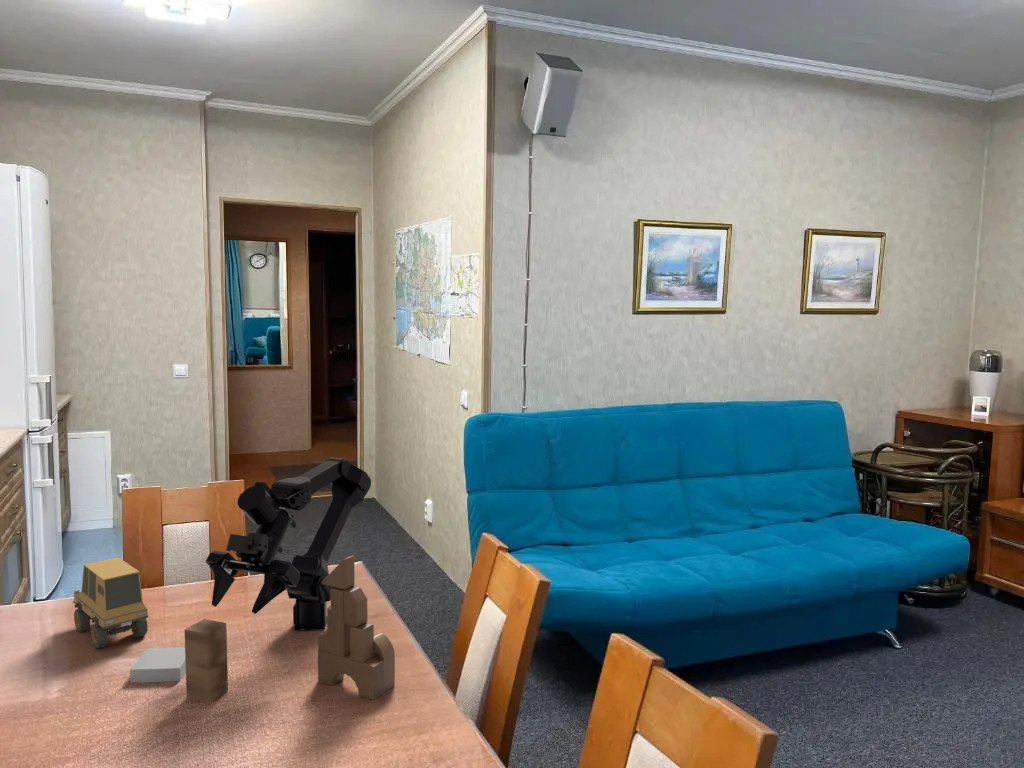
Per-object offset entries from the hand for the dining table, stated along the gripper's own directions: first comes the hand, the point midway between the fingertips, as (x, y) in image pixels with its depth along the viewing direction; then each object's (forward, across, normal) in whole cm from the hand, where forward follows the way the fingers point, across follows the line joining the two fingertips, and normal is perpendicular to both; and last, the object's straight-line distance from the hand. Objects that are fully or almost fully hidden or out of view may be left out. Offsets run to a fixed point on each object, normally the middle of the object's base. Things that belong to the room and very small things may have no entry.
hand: (233, 609), depth 149 cm
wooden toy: (+5, +22, +14) cm, 27 cm away
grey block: (+12, -14, +8) cm, 20 cm away
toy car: (+5, -37, +14) cm, 40 cm away
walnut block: (+15, 0, +4) cm, 15 cm away
